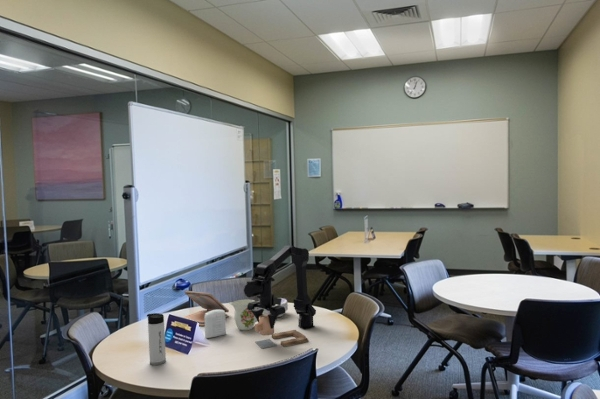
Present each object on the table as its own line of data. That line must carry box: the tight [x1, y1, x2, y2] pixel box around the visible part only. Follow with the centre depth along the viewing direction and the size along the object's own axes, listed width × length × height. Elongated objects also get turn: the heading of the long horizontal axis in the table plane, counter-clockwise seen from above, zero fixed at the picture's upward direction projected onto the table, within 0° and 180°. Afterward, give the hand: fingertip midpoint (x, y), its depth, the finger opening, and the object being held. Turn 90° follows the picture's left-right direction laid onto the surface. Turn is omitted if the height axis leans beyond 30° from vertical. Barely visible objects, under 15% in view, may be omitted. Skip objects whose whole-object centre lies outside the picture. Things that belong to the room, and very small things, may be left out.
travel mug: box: [146, 312, 167, 366], centre depth 177 cm, size 6×7×20 cm
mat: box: [255, 338, 277, 350], centre depth 193 cm, size 7×9×1 cm
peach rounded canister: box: [254, 314, 275, 336], centre depth 192 cm, size 10×7×8 cm
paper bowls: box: [264, 297, 289, 318], centre depth 235 cm, size 15×15×8 cm
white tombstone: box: [204, 310, 227, 339], centre depth 206 cm, size 10×4×12 cm, turn 123°
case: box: [183, 290, 230, 327], centre depth 234 cm, size 20×21×16 cm
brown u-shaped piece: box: [271, 329, 309, 348], centre depth 198 cm, size 12×14×2 cm
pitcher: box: [228, 298, 264, 331], centre depth 216 cm, size 11×18×14 cm, turn 115°
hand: (266, 327), depth 193 cm, fingers closed on peach rounded canister, 7 cm apart
